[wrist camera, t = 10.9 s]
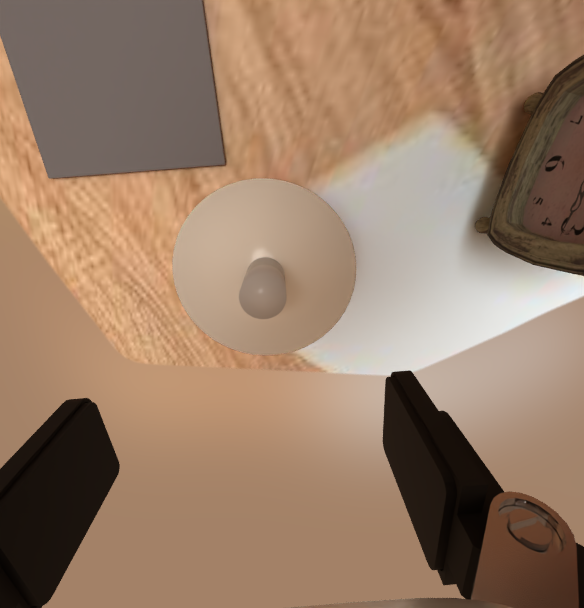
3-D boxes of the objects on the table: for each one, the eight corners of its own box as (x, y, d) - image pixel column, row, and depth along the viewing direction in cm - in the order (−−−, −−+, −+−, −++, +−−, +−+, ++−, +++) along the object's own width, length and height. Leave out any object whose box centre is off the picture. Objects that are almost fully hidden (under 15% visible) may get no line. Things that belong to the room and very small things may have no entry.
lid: (352, 170, 24) (375, 167, 18) (353, 341, 30) (371, 380, 24) (158, 186, 24) (120, 188, 18) (195, 355, 29) (175, 397, 24)
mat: (192, -72, 23) (190, -78, 22) (225, 164, 29) (225, 164, 28) (-25, -56, 23) (-33, -62, 22) (53, 178, 29) (48, 178, 28)
